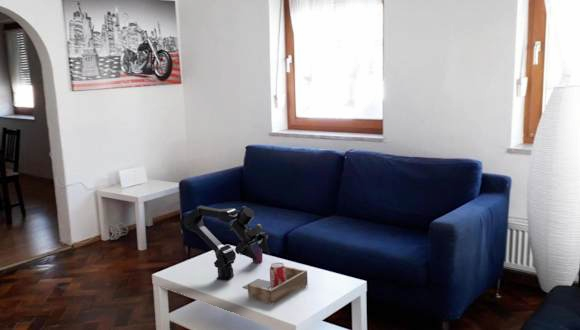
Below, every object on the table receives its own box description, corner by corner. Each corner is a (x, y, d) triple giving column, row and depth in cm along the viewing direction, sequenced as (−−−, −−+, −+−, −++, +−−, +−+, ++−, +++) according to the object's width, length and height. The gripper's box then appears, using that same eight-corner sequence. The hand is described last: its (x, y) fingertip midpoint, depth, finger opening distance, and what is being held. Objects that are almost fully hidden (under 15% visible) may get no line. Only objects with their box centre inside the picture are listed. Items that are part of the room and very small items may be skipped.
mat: (242, 287, 249) (242, 286, 249) (257, 279, 257) (257, 278, 257) (261, 292, 242) (261, 291, 242) (276, 283, 251) (276, 283, 251)
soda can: (284, 293, 239) (283, 267, 237) (269, 293, 241) (267, 267, 239) (287, 287, 246) (286, 262, 244) (272, 287, 247) (271, 261, 245)
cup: (250, 259, 285) (249, 232, 282) (263, 258, 285) (262, 231, 283) (251, 264, 278) (249, 236, 276) (264, 263, 279) (262, 235, 276)
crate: (248, 297, 237) (247, 284, 236) (284, 277, 258) (284, 265, 257) (272, 304, 229) (271, 290, 228) (307, 283, 250) (307, 270, 249)
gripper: (237, 225, 239) (259, 252, 234) (263, 215, 254) (284, 240, 249) (225, 240, 245) (246, 267, 240) (252, 229, 260) (272, 254, 255)
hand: (263, 256), depth 246 cm, fingers open, 9 cm apart
